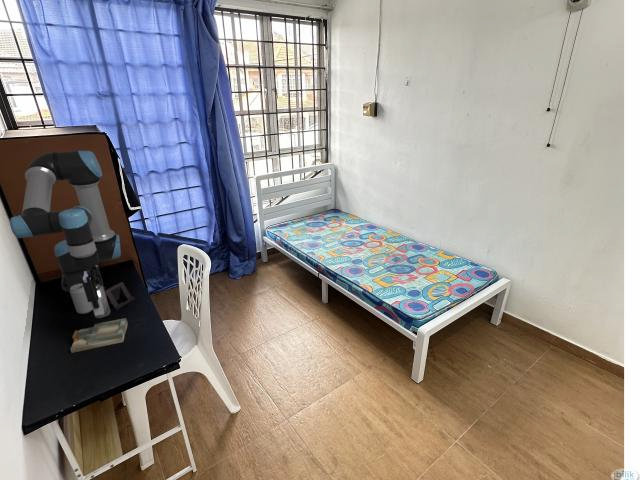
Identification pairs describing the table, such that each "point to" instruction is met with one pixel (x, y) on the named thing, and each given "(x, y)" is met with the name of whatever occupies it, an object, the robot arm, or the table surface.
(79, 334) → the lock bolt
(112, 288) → the dark hollow square block
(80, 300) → the beverage can
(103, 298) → the metal bottle
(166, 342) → the table surface
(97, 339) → the dock mount
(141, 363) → the table surface
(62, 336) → the table surface
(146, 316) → the table surface
